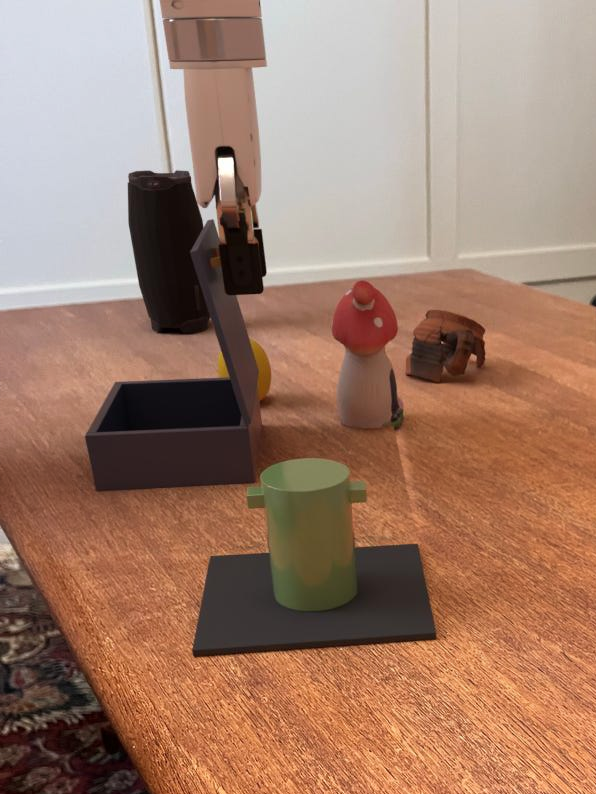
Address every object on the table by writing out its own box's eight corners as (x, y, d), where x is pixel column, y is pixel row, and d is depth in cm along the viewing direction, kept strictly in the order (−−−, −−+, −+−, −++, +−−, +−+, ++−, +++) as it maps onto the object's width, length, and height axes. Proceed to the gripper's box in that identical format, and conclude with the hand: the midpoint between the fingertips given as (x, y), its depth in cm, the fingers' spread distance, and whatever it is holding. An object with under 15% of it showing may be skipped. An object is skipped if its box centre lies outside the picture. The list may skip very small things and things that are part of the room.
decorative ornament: (386, 442, 101) (379, 286, 93) (324, 437, 102) (312, 282, 94) (413, 413, 108) (408, 266, 101) (355, 408, 110) (346, 263, 102)
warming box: (97, 499, 88) (84, 435, 85) (125, 438, 102) (114, 381, 99) (256, 491, 90) (248, 428, 87) (263, 432, 103) (256, 375, 100)
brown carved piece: (387, 373, 123) (407, 306, 122) (454, 399, 127) (473, 335, 127) (428, 372, 112) (450, 299, 112) (499, 400, 117) (520, 331, 116)
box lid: (189, 251, 79) (244, 239, 79) (207, 220, 92) (254, 210, 93) (244, 425, 87) (294, 414, 87) (253, 373, 100) (296, 363, 100)
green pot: (257, 615, 70) (242, 494, 65) (261, 575, 75) (247, 460, 70) (374, 607, 71) (366, 487, 66) (369, 569, 76) (362, 455, 71)
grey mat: (193, 656, 66) (192, 650, 66) (210, 561, 78) (210, 555, 78) (436, 639, 68) (436, 632, 68) (417, 548, 80) (417, 543, 80)
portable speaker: (139, 325, 141) (113, 171, 131) (205, 317, 145) (184, 167, 135) (156, 339, 134) (130, 178, 124) (225, 330, 139) (205, 173, 129)
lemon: (214, 415, 108) (203, 339, 104) (236, 399, 112) (227, 326, 108) (262, 419, 107) (253, 343, 103) (283, 403, 111) (275, 329, 107)
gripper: (179, 46, 86) (211, 267, 95) (152, 49, 71) (193, 310, 81) (268, 44, 87) (292, 264, 96) (260, 47, 72) (288, 306, 82)
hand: (246, 283), depth 88 cm, fingers closed on box lid, 6 cm apart
